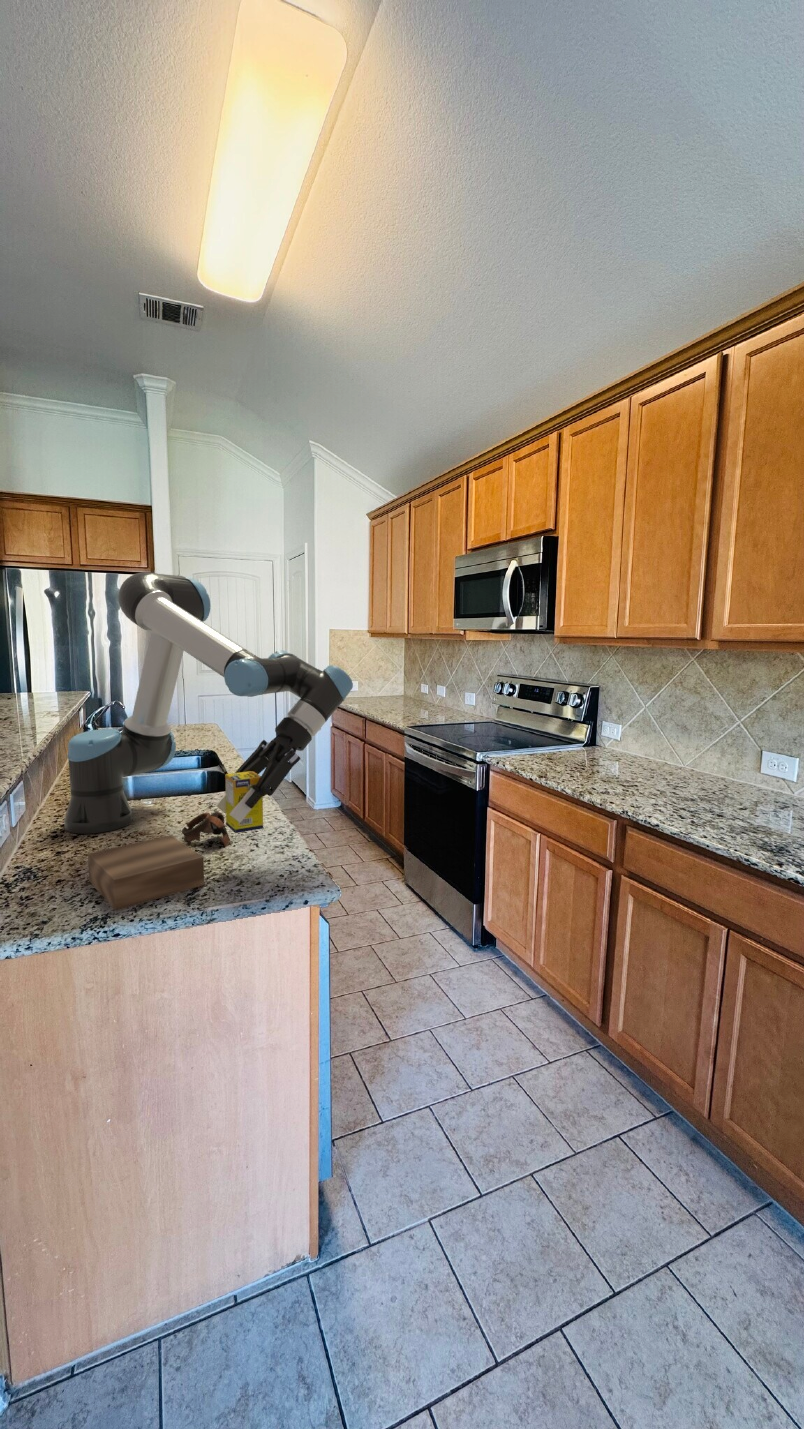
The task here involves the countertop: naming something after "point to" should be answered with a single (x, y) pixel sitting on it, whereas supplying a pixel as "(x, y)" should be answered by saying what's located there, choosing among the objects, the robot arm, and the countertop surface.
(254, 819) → the supplement box
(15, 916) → the countertop surface
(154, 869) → the walnut block
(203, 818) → the broken clay pot
